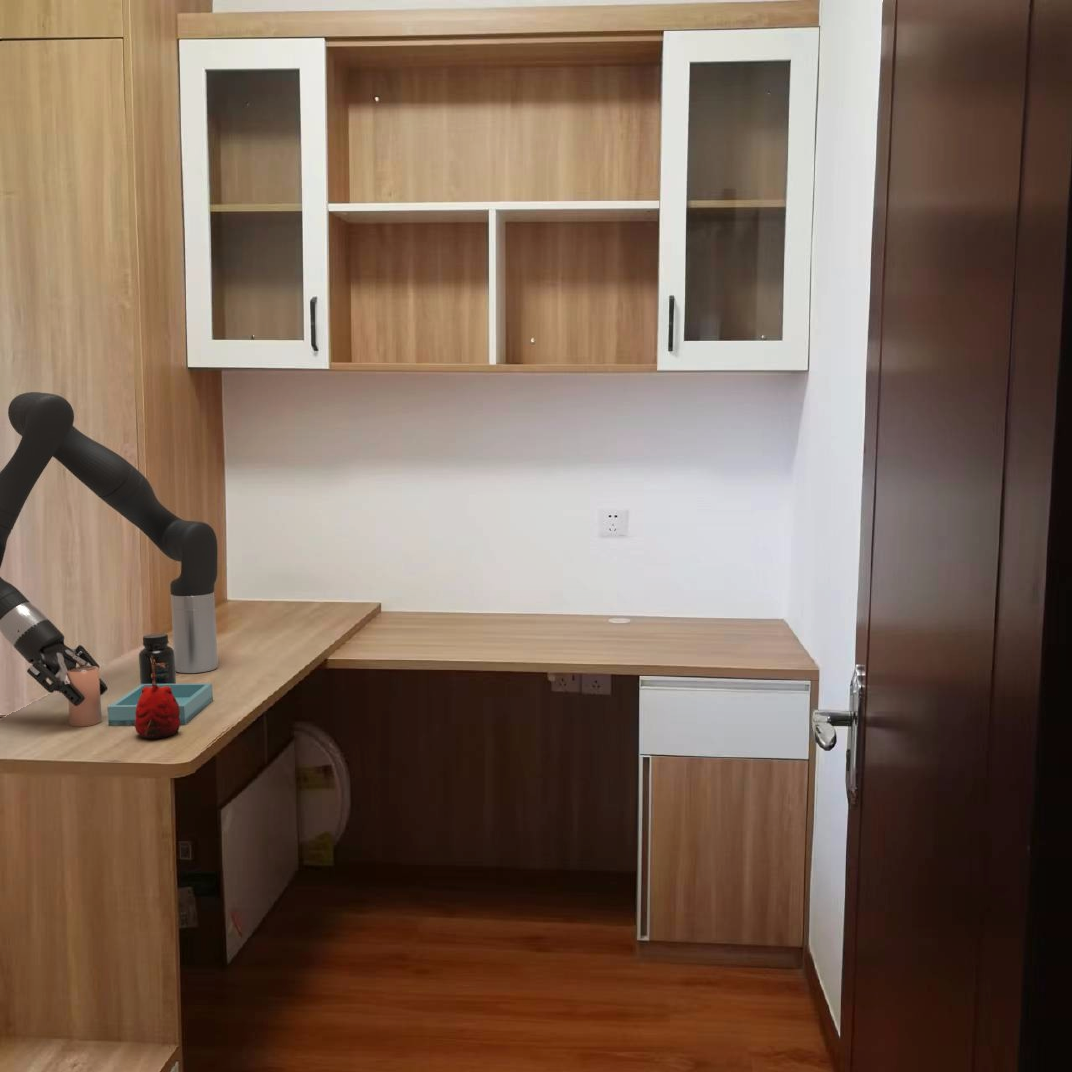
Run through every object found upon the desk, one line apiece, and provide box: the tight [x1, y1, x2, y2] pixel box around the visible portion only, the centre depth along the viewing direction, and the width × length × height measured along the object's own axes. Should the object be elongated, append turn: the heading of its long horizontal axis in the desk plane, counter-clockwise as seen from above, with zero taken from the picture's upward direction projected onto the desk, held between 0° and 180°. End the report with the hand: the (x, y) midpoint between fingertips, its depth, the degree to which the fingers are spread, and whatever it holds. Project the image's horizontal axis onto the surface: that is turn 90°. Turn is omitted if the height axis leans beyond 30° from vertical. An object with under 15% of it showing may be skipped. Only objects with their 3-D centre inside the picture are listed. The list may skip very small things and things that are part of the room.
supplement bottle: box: [138, 633, 177, 685], centre depth 206 cm, size 7×7×12 cm
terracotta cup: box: [67, 665, 103, 728], centre depth 186 cm, size 5×5×10 cm
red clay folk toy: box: [134, 656, 181, 740], centre depth 178 cm, size 8×7×15 cm
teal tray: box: [107, 682, 214, 726], centre depth 192 cm, size 16×14×4 cm
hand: (92, 697), depth 186 cm, fingers open, 6 cm apart
